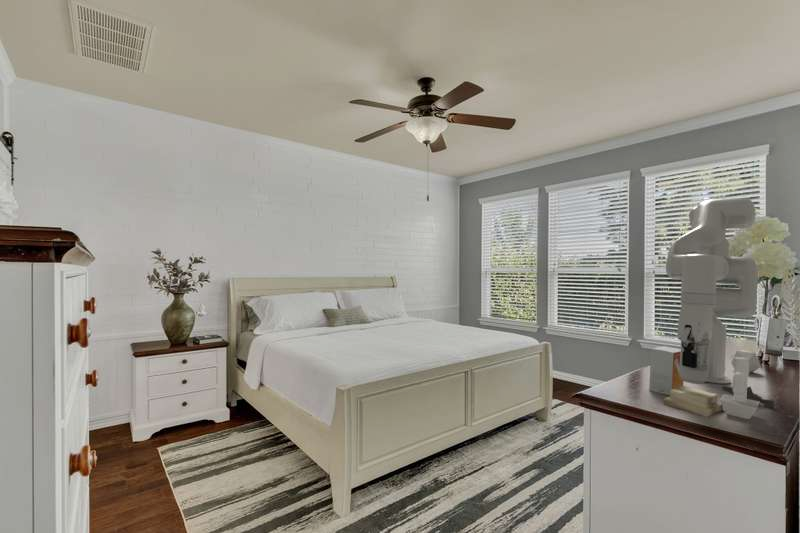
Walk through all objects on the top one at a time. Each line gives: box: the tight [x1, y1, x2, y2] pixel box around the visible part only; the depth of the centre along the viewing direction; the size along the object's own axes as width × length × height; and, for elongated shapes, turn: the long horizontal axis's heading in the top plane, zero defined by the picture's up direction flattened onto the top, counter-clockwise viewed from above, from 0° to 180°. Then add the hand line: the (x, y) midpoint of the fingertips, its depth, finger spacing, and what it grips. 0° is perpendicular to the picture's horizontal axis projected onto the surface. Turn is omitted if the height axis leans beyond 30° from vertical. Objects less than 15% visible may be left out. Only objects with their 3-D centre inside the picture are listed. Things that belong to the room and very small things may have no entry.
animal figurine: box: [721, 385, 776, 409], centre depth 111 cm, size 12×4×5 cm, turn 43°
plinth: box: [663, 385, 724, 417], centre depth 106 cm, size 10×10×4 cm
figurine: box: [719, 357, 761, 420], centre depth 101 cm, size 7×9×15 cm
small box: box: [648, 345, 684, 397], centre depth 119 cm, size 8×6×13 cm
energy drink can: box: [679, 332, 709, 385], centre depth 106 cm, size 6×6×15 cm
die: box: [729, 349, 761, 374], centre depth 145 cm, size 8×9×10 cm
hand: (694, 364), depth 106 cm, fingers closed on energy drink can, 6 cm apart
